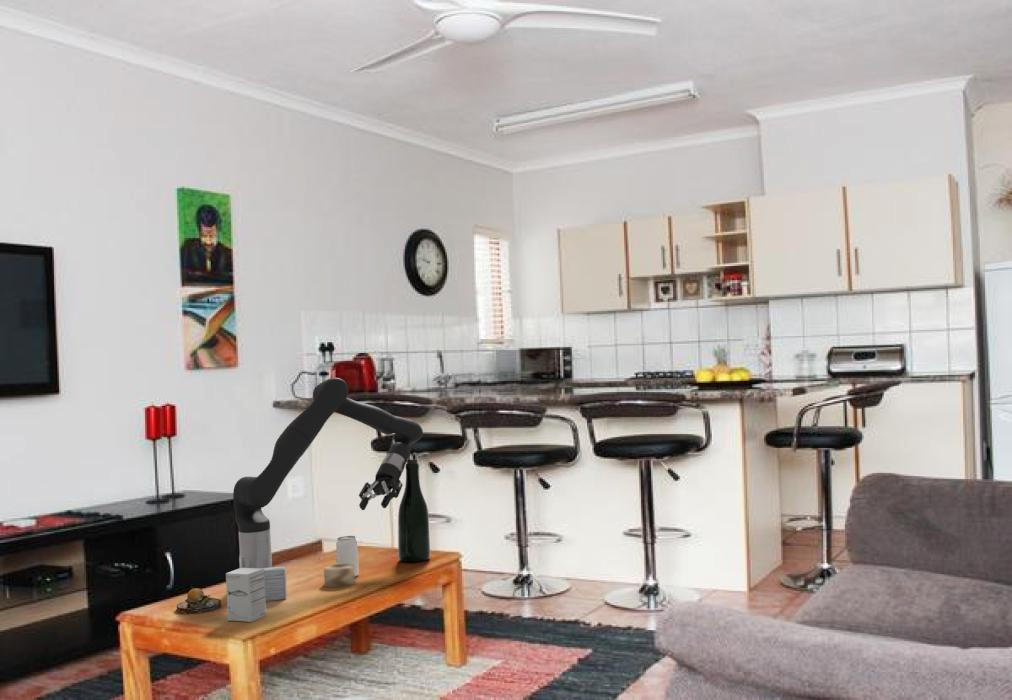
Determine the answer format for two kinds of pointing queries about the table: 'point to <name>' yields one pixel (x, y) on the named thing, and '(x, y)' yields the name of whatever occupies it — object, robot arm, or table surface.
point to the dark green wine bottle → (413, 519)
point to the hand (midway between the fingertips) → (372, 507)
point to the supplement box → (245, 594)
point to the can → (347, 552)
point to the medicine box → (275, 583)
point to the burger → (198, 603)
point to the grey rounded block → (339, 575)
